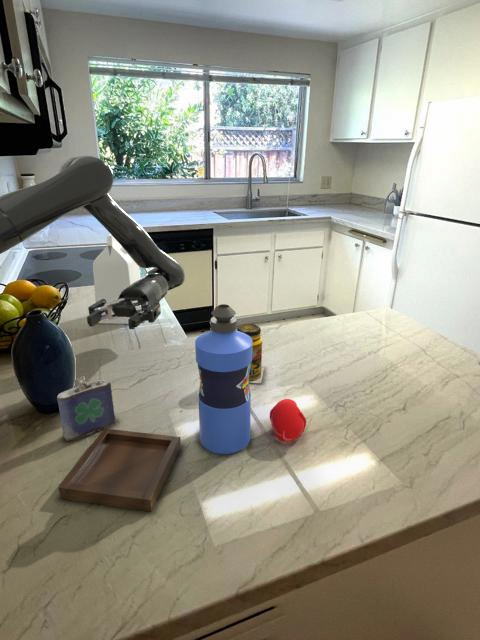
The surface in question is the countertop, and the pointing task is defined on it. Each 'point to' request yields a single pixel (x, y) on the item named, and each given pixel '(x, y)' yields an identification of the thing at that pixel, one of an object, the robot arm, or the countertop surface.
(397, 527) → the countertop surface
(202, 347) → the water bottle
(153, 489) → the tray
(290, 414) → the cap
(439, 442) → the countertop surface
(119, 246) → the milk
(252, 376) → the condiment
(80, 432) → the flask
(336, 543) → the countertop surface
